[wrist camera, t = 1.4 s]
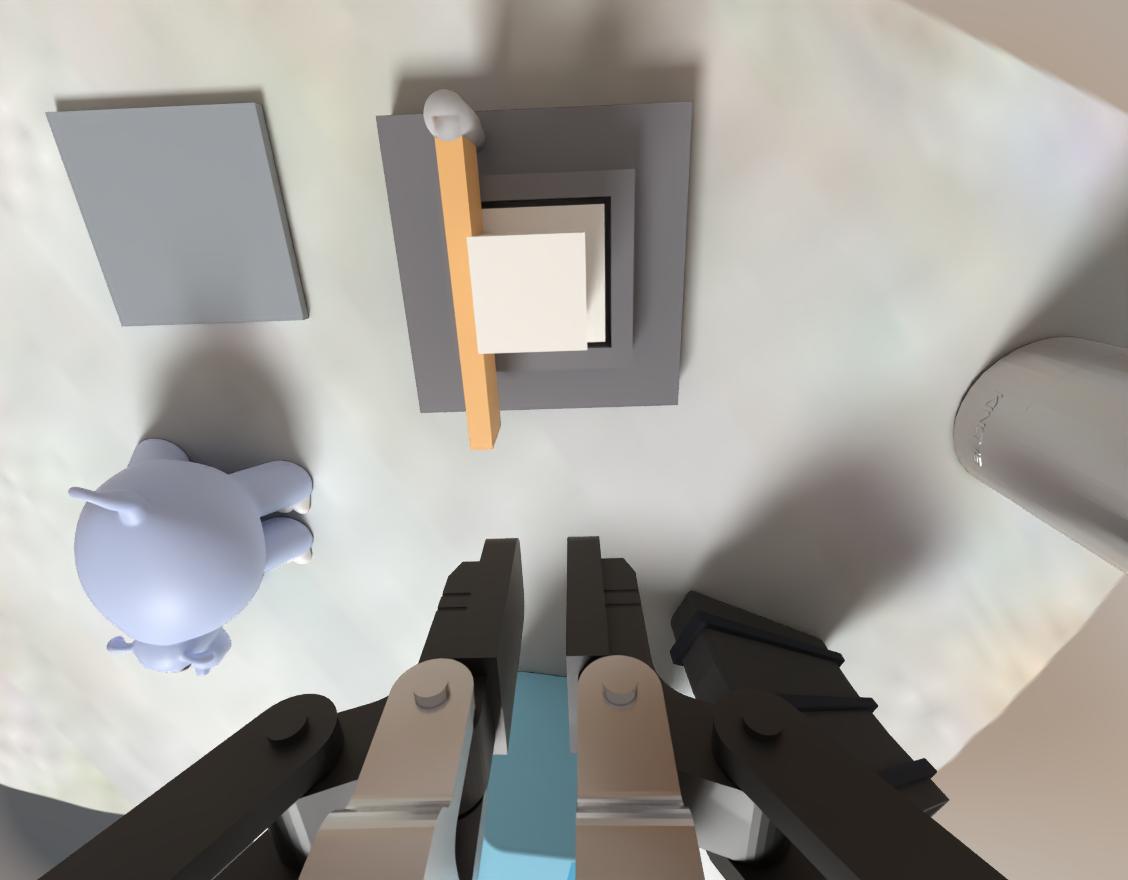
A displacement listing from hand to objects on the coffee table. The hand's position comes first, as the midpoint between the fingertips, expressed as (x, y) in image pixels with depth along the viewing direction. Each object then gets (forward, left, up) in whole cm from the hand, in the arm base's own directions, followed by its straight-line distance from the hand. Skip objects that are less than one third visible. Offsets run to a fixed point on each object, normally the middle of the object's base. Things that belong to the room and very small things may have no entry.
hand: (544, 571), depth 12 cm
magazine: (-13, +20, -19) cm, 31 cm away
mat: (+19, -8, -19) cm, 28 cm away
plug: (+1, -5, -17) cm, 18 cm away
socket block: (+1, -5, -19) cm, 20 cm away
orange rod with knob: (+3, -5, -15) cm, 16 cm away
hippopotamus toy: (+22, +10, -19) cm, 31 cm away
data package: (0, +26, -19) cm, 32 cm away
